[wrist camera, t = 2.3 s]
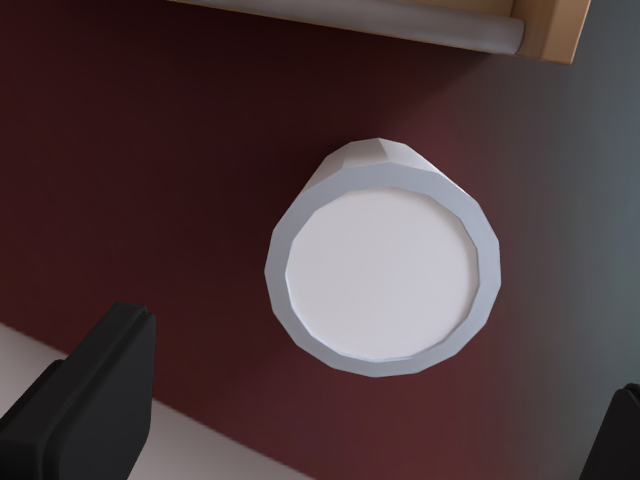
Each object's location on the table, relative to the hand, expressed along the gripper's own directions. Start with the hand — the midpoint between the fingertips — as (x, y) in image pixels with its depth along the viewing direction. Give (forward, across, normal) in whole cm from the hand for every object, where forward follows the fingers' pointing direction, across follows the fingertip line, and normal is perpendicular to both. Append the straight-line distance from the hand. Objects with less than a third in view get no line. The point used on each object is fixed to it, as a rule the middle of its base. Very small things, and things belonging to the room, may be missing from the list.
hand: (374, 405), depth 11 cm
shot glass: (+12, 0, -1) cm, 13 cm away
